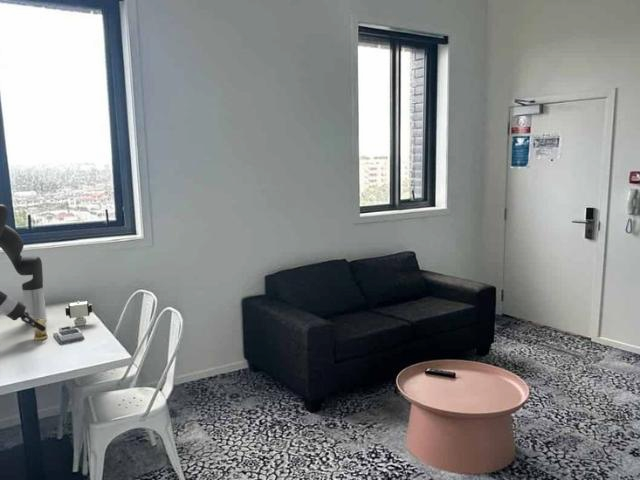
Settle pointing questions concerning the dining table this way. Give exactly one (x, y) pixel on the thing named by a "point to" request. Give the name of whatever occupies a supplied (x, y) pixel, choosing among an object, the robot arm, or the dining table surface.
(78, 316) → the pneumatic valve
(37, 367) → the dining table surface
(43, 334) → the brass fitting
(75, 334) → the plate
